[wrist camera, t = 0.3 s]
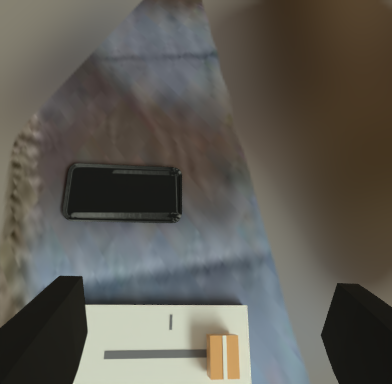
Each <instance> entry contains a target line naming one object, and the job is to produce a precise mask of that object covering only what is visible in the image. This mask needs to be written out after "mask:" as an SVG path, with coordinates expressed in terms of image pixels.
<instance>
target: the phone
mask: <svg viewBox="0 0 392 384" xmlns="http://www.w3.org/2000/svg"><path fill="white" fill-rule="evenodd" d="M63 215H64V217H65V218H66V219H67V220H69V221H90V222H143V223H176V222H178V221H179V220H180V218H181V215H182V173H181V171H180V170H179V169H177V168H174V167H151V166H128V165H104V164H80V163H78V164H74V165H72V166H71V167H70V168H69V171H68V177H67V184H66V191H65V198H64V204H63Z"/></svg>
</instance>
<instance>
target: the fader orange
mask: <svg viewBox="0 0 392 384" xmlns="http://www.w3.org/2000/svg"><path fill="white" fill-rule="evenodd" d="M206 339H207V376H208V377H209V378H210V379H211V380H219V379H224V380H228V379H240V369H239V346H238V335H235V334H206Z"/></svg>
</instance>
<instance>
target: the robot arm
mask: <svg viewBox="0 0 392 384" xmlns="http://www.w3.org/2000/svg"><path fill="white" fill-rule="evenodd" d="M87 334H88V327H87V317H86V307H85V297H84V287H83V278H82V276H59V277H58V278H57V279H55V280H54V281H53V282H52V283H51V284H50V285H48V286H47V287H46V288H45V289H44V290H43V291H42V292H41V293H39V294H38V295H37V296H36V297H35V298H34V299H33V300H32V301H31V302H29V303H28V304H27V305H26V306H25V307H24V308H23V309H22V310H20V311H19V312H18V313H17V314H16V315H15V316H14V317H13V318H11V319H10V320H9V321H8V322H7V323H6V324H4V325H3V326H2V327H1V328H0V384H73V382H74V379H75V377H76V374H77V371H78V368H79V364H80V361H81V357H82V353H83V349H84V345H85V341H86V338H87ZM321 337H322V340H323V343H324V346H325V349H326V352H327V355H328V358H329V361H330V363H331V366H332V369H333V372H334V374H335V376H336V378H337V380H338V383H339V384H392V307H391V306H389V305H388V304H386V303H385V302H384V301H382V300H381V299H380V298H378V297H377V296H375V295H374V294H372V293H371V292H369V291H368V290H367V289H365V288H364V287H362V286H360V285H359V284H343V283H337V286H336V289H335V292H334V296H333V299H332V302H331V305H330V308H329V311H328V314H327V318H326V321H325V324H324V327H323V330H322V333H321Z"/></svg>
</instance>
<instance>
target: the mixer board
mask: <svg viewBox="0 0 392 384" xmlns="http://www.w3.org/2000/svg"><path fill="white" fill-rule="evenodd" d="M85 307H86V317H87V327H88V334H87V338H86V341H85V345H84V349H83V353H82V357H81V361H80V364H79V368H78V371H77V374H76V377H75V379H74V382H73V384H251V368H250V349H249V331H248V312H247V305H85ZM206 334H235V335H238V346H239V369H240V379H228V380H224V379H219V380H211V379H210V378H209V377H208V376H207V339H206Z"/></svg>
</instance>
